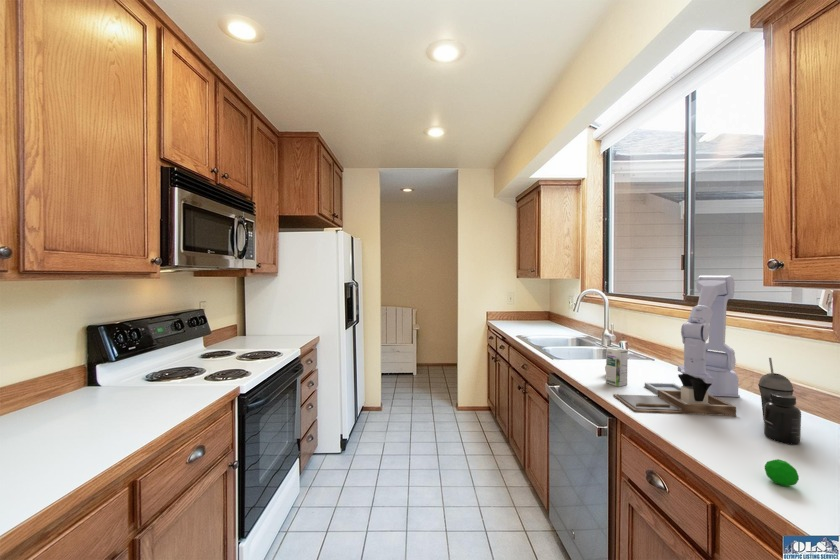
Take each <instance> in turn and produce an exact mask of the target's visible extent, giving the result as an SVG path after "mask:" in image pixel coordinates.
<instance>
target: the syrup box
mask: <svg viewBox="0 0 840 560" xmlns="http://www.w3.org/2000/svg"><path fill="white" fill-rule="evenodd" d="M628 352H629V350H628V349H626V348H621V347H616V346H615V347H614V346H609V347H606V352H605V355H606V356H605V357H606V358H605V359H606V360H605V366H606V371H605V383H606V384H608V383H609V384H610V385H612V386H615V387H623V386H628V360H629V358H628V356H629V355H628Z"/></svg>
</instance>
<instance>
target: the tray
mask: <svg viewBox="0 0 840 560" xmlns="http://www.w3.org/2000/svg"><path fill="white" fill-rule="evenodd" d="M644 388H646V389H648V390H649V391H652V392H653V393H655V395H656V394H657V395H658V390H681V385H678V384H676V383H671V382H670V383H666V382H665V383H663V382H644Z"/></svg>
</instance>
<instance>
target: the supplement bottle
mask: <svg viewBox="0 0 840 560" xmlns="http://www.w3.org/2000/svg"><path fill="white" fill-rule="evenodd" d="M770 400H771V402H767V403H766V404H765V417H764V420H763V425H764V426H763V427H764V428H763V434H764V436H765V437H766V438H767V439H770V440H772V441H774V442H777V443H781V444H783V445H784V444H785V445H791V446H793V445H794V446H795V445H798V444H800V443H801V435H802V434H801V433H802V412H801V409H799V407H797V406H796V405H797V397H796V396H794V395H789V394H785V393H778V392H771V393H770Z"/></svg>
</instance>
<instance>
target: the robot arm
mask: <svg viewBox="0 0 840 560" xmlns="http://www.w3.org/2000/svg"><path fill="white" fill-rule="evenodd" d="M695 282H696V284H695V285H696V290H697V291H698V293H699V297H698V301H697V305H695V306H692V309H691V310H690V313H689V316H688V319H687V321H686V322H684V323H682V325H681V328H680V333H681V334H680V335H681V338H682V345H683V365H677V372H680V373H679V374H677V377H678V378H679V380H680V382H681V384H682V386H693V390H694V398H695V401H703V399H704V397H705V394H706V392H707V390H708V394H710V395H712V396H714V397H737V398H740V397H741V395H740V394H739V376H738V375H737V373H736V371H734V369H735V367H736V364H737V363H736V361H737V360H736V352H735V350H734V349H733V348H732V347H730V346H729V345H728V344H727V343H726V329H727V327H726V326H727V325H726V324H727V306H728V305H727V304H728V301H729V300H730V299H734V296H735V286H736V285H735V284H736V283H735V279H734V277H733V276H732V275H699V276H698V277H697V279H696V281H695ZM707 341H708V342H707Z"/></svg>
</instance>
